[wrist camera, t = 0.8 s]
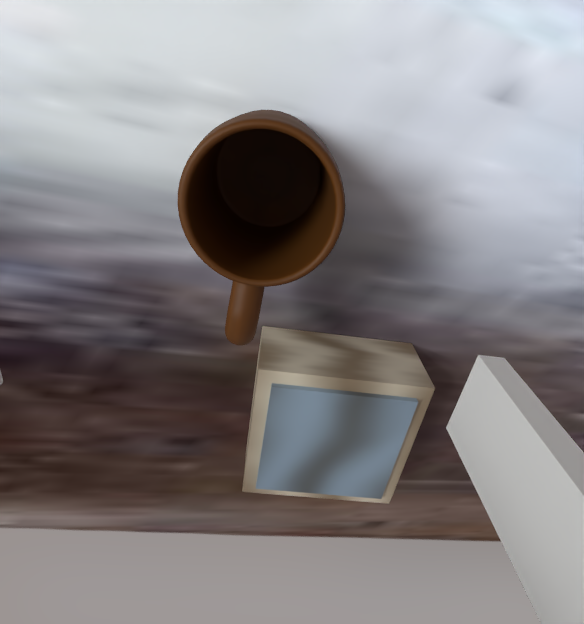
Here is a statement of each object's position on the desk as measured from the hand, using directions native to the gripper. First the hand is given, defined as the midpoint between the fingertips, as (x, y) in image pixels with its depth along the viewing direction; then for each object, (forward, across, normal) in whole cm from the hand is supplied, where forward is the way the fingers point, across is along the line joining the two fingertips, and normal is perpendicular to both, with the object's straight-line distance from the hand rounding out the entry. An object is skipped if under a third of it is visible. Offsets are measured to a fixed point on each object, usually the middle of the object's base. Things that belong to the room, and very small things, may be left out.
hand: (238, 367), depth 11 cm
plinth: (+18, +7, -15) cm, 24 cm away
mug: (+18, 0, 0) cm, 18 cm away
